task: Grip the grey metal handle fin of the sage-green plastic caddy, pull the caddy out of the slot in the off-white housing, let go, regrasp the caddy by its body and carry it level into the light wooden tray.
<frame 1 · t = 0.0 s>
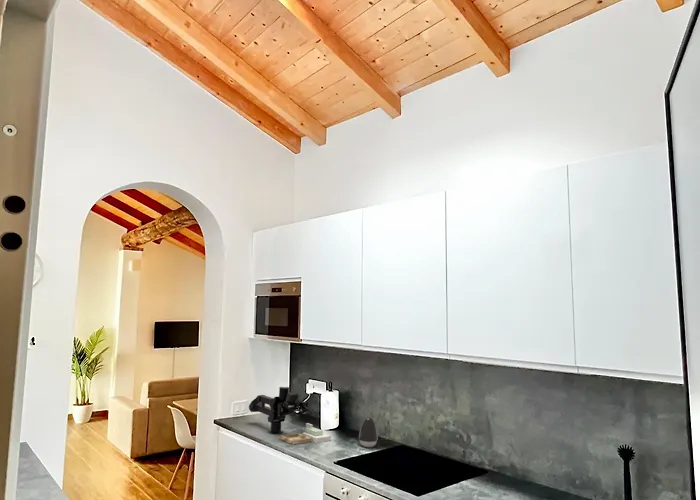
hand: (301, 411, 282), 17 cm above the counter, tool horizontal, fingers open, 9 cm apart
caddy: (313, 438, 290), on the counter
egg shaped speaker: (367, 446, 279), on the counter
housing: (315, 438, 289), on the counter
tray: (295, 440, 283), on the counter
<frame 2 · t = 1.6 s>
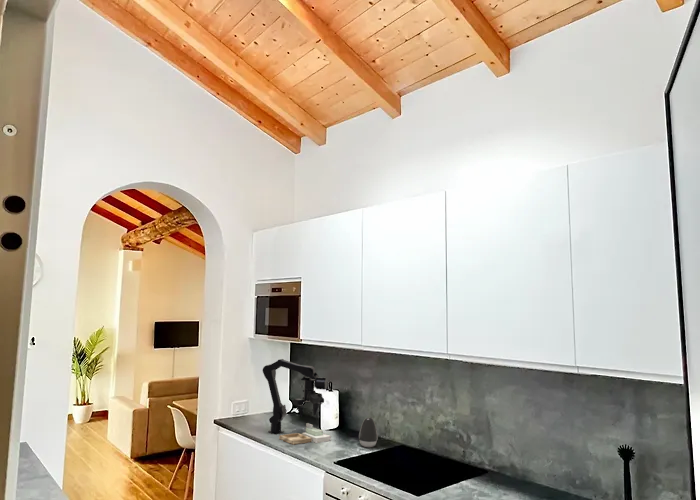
hand: (307, 416, 297), 11 cm above the counter, tool pointing down, fingers open, 9 cm apart
nothing on the counter moved.
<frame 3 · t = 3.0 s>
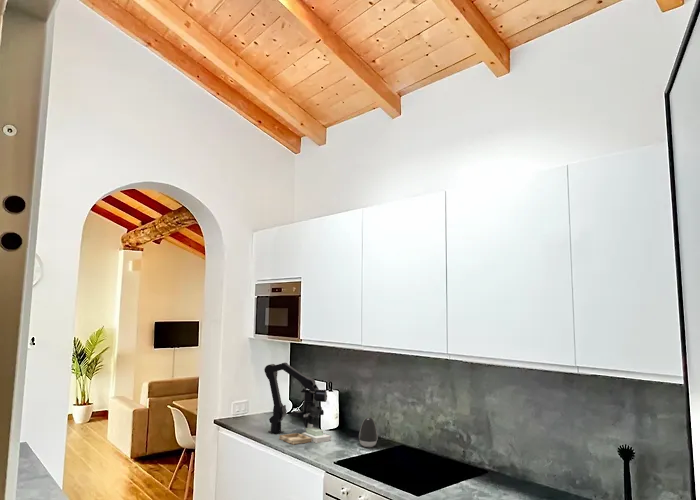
hand: (307, 428, 296), 4 cm above the counter, tool pointing down, fingers closed on caddy
caddy: (314, 438, 290), on the counter, touching gripper
everything else where it was.
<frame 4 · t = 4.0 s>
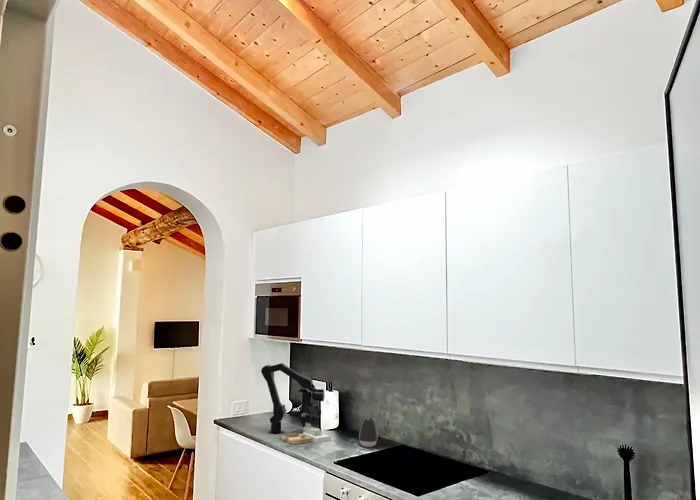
hand: (304, 427, 298), 4 cm above the counter, tool pointing down, fingers closed on caddy
caddy: (311, 437, 292), on the counter, touching gripper
everything else where it was.
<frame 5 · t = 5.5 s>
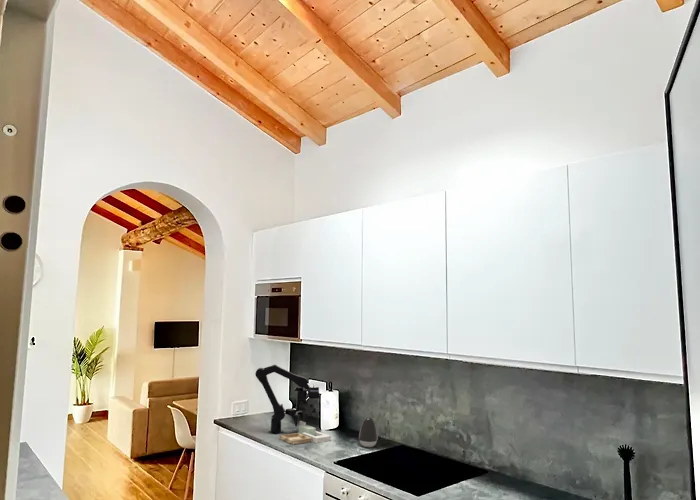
hand: (300, 425, 302), 4 cm above the counter, tool pointing down, fingers open, 5 cm apart
caddy: (306, 435, 296), on the counter
everything else where it was.
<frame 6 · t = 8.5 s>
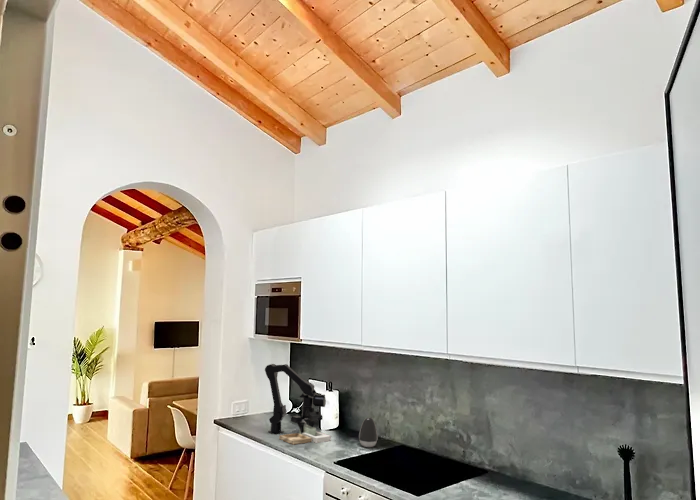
hand: (306, 433, 296), 1 cm above the counter, tool pointing down, fingers closed on caddy, 5 cm apart
caddy: (307, 435, 295), on the counter, touching gripper
everything else where it was.
when the fingers open (3 cm above the counter, at t = 13.7 s): caddy stays where it is, resting on tray.
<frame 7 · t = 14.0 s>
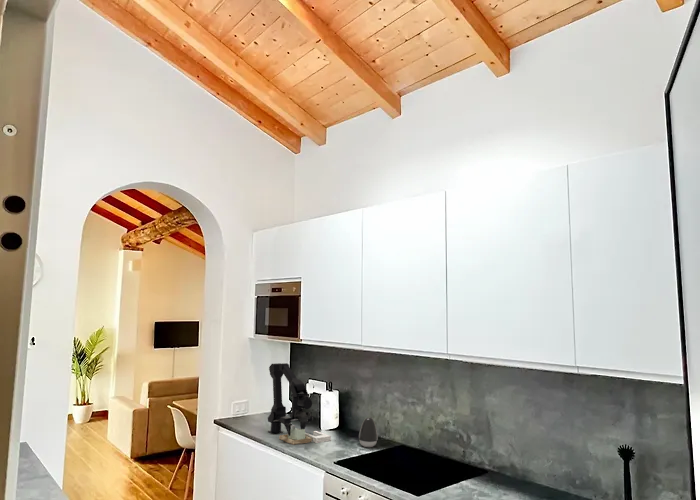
hand: (295, 434, 284), 3 cm above the counter, tool pointing down, fingers open, 8 cm apart
caddy: (296, 438, 283), point 1 cm above the counter, tilted 9°, touching tray
everything else where it was.
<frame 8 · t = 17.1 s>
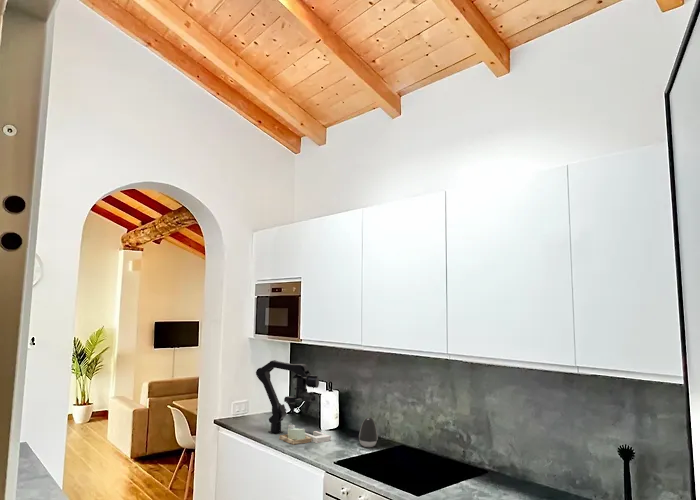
hand: (299, 413, 297), 12 cm above the counter, tool pointing down, fingers open, 9 cm apart
nothing on the counter moved.
at the end: caddy inside the target area on the tray (1.2 cm from its centre), point 1.3 cm above the tray's base; caddy tilted 9°; the gripper is holding nothing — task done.
